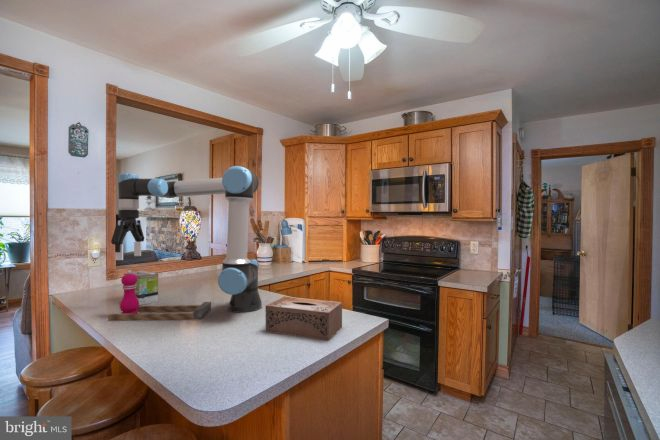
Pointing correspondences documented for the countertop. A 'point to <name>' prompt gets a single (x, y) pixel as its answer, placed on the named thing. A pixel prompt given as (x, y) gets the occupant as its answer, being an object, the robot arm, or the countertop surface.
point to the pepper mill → (129, 294)
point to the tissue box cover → (304, 317)
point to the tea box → (146, 287)
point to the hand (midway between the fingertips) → (128, 257)
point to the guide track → (197, 315)
